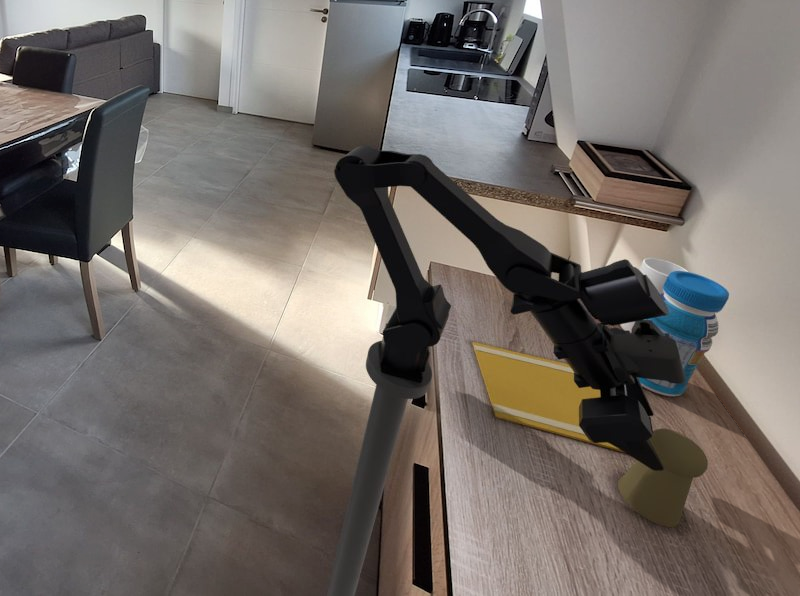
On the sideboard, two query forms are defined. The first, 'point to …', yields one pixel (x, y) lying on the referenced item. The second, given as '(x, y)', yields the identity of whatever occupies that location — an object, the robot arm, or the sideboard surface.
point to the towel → (534, 391)
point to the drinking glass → (655, 277)
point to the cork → (664, 478)
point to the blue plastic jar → (688, 323)
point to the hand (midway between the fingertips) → (653, 440)
